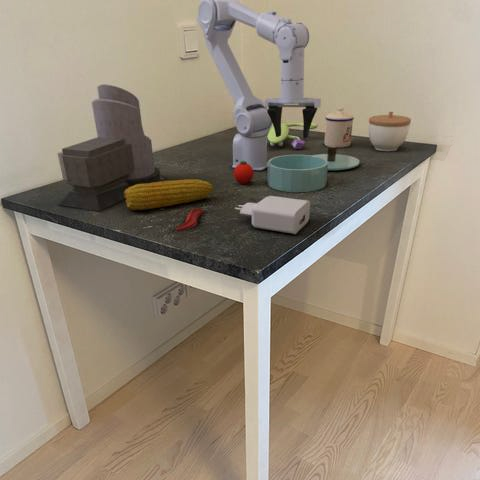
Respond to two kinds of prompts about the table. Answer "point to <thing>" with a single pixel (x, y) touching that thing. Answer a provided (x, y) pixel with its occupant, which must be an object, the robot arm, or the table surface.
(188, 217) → the cayenne pepper
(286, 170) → the pan
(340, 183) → the table surface
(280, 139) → the figurine
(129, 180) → the grey piece
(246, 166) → the tomato
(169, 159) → the table surface
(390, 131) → the lidded bowl
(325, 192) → the table surface
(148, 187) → the food
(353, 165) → the pan lid
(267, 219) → the charger
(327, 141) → the teacup with lid
